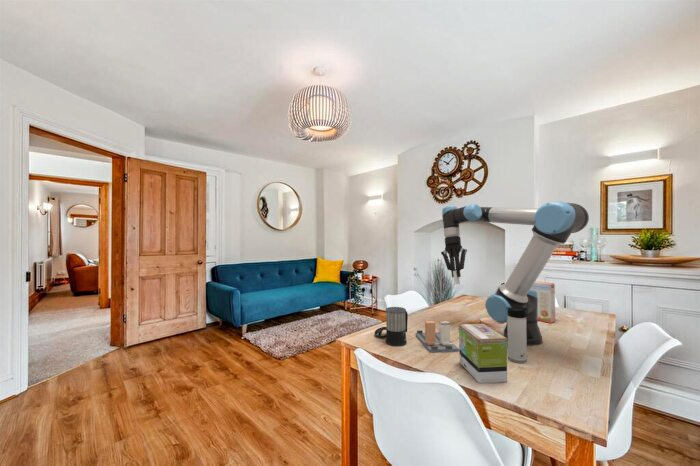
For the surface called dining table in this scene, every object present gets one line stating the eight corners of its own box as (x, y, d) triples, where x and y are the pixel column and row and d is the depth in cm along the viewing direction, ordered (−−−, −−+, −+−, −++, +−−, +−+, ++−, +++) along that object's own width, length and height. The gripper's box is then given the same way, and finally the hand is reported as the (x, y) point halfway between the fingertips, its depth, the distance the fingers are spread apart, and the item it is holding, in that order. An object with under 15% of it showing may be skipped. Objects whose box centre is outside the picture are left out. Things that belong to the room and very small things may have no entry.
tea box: (458, 363, 109) (457, 323, 109) (484, 362, 109) (484, 322, 109) (478, 384, 93) (477, 337, 94) (508, 382, 94) (508, 336, 94)
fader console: (415, 335, 138) (415, 312, 138) (440, 334, 139) (439, 312, 139) (430, 352, 118) (429, 326, 118) (458, 351, 119) (458, 325, 119)
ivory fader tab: (439, 342, 124) (439, 321, 124) (447, 342, 125) (447, 321, 125) (441, 345, 121) (441, 323, 121) (450, 345, 122) (450, 323, 122)
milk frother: (404, 347, 123) (404, 312, 123) (368, 343, 129) (368, 309, 129) (409, 336, 137) (409, 304, 137) (376, 332, 142) (376, 302, 142)
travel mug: (527, 365, 106) (527, 310, 106) (507, 361, 110) (506, 308, 110) (527, 358, 111) (527, 306, 112) (508, 355, 115) (507, 304, 115)
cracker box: (555, 321, 157) (555, 283, 157) (550, 323, 154) (550, 284, 154) (527, 315, 169) (527, 279, 169) (522, 317, 165) (522, 280, 165)
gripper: (468, 235, 145) (473, 283, 141) (443, 239, 154) (448, 284, 150) (461, 234, 140) (466, 284, 136) (436, 238, 149) (441, 284, 145)
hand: (457, 284), depth 143 cm, fingers closed
